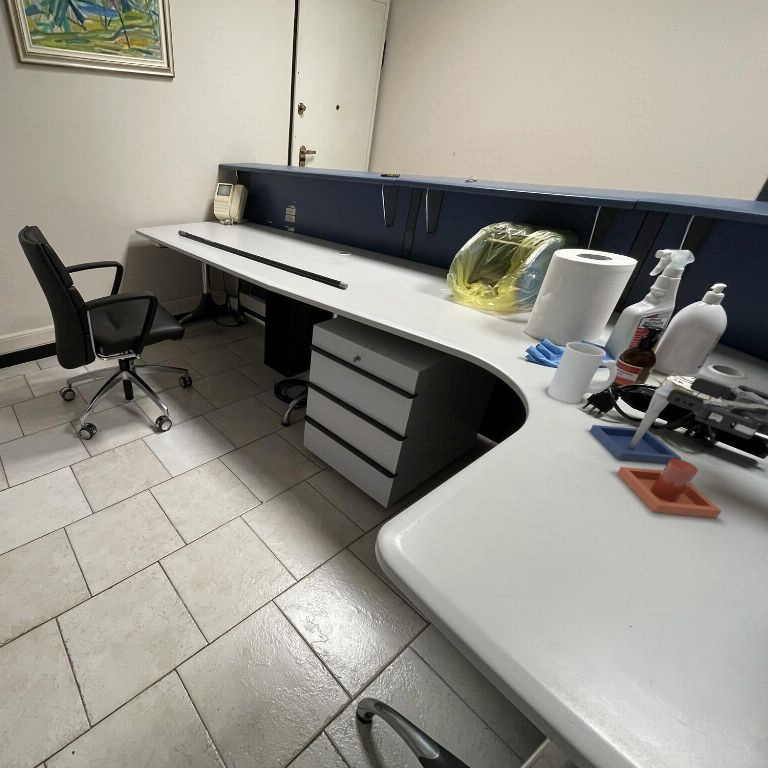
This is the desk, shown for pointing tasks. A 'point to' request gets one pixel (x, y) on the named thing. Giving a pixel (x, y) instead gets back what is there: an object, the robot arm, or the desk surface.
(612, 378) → the mug
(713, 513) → the terracotta tray
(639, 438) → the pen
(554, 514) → the desk surface
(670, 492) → the red peg
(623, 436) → the blue tray
